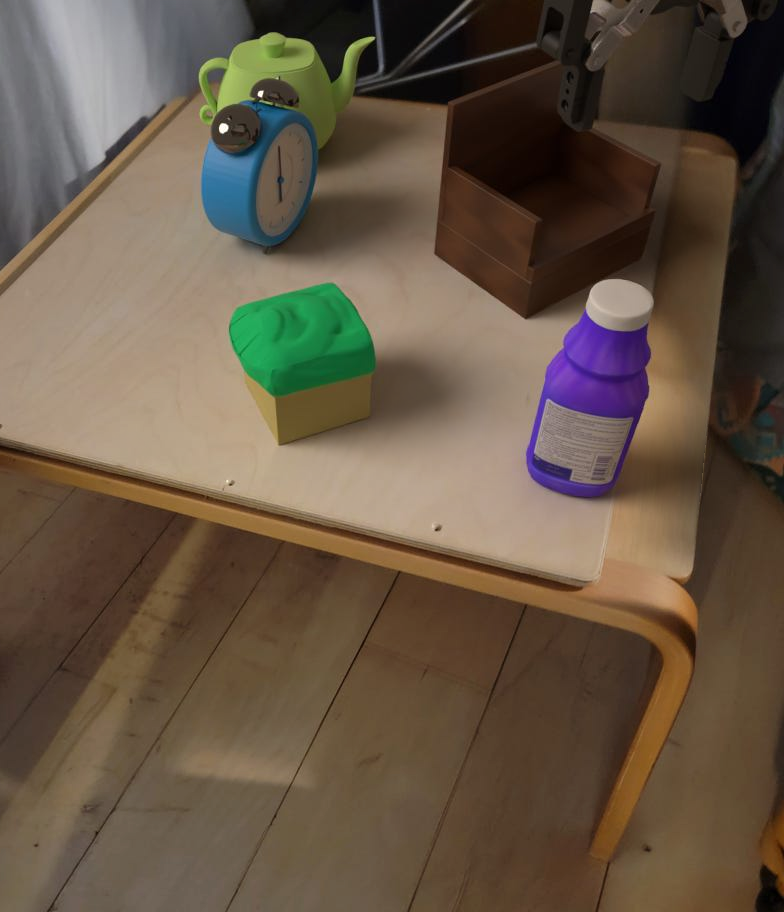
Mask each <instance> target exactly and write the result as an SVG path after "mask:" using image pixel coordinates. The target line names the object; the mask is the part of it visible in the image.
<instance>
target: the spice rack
mask: <svg viewBox="0 0 784 912" xmlns="http://www.w3.org/2000/svg"><path fill="white" fill-rule="evenodd" d="M563 70H564V65H563V64H561V63H560V62H559V61H557V60H556V59H555V60H553V61H551V62H549V63H546V64H543V65H541V66H537V67H536V68H533V69H530V70H528V71H525V72H522V73H520V74H517V75H515V76H512V77H510V78H508V79H504V80H501V81H499V82H496V83H494V84H492V85H489V86H487V87H484V88H481V89H479V90H476V91H473V92H470V93H468V94H465V95H462V96H460V97H457V98H455V99H453V100H450V101H448V102H447V111H446V120H445V121H446V122H445V132H444V141H443V155H442V164H441V165H442V166H441V175H440V184H439V185H440V186H439V197H438V206H437V207H438V208H437V220H436V230H435V241H434V251H433V255H435V256H436V257H438V258H439V259H440V260H442V261H444V262H445V263H446V264H447V265H449V266H450V267H451V268H453V269H454V270H456V271H457V272H459V273H460V274H462V275H463V276H464V277H465V278H467V279H469V280H470V281H471V282H473V283H474V284H475V285H477V286H478V287H479V288H481V289H482V290H484V291H485V292H487V293H488V294H490V295H491V296H492V297H494V298H495V299H496V300H498V301H499V302H501V303H502V304H503V305H505V306H506V307H508V308H509V309H511V311H513V312H514V313H516V314H517V315H519V316H520V317H521V318H523V319H525V320H526V319H528V318H529V317H531V316H534V315H535V314H538V313H539V312H541V311H543V310H545V309H547V308H548V307H549V308H550V307H551V306H553V305H554V304H557V303H558V302H560V301H563V300H564V299H566V298H568V297H570V296H572V295H574V294H575V293H577V292H579V291H581V290H583V289H585V288H587V287H589V286H591V285H593V284H594V283H595V284H596V282H597V283H598V282H599V281H601V280H602V279H604V278H606V277H608V276H610V275H612V274H613V273H615V272H618V271H620V270H621V269H623V268H625V267H627V266H629V265H631V264H633V263H635V262H636V261H638V260H640V259H642V258H643V255H644V252H645V248H646V245H647V241H648V238H649V235H650V231H651V229H652V225H653V221H654V218H655V215H656V212H657V209H655V208H653V207H652V206H650V205H651V202H652V200H653V199H652V198H653V195H654V191H655V189H656V186H657V185H656V184H657V180H658V178H659V174H660V171H661V167H662V164H663V163H662V162H660V161H658V160H656V159H654V158H653V157H651V156H649V155H647V154H644V153H643V152H641V151H639V150H637V149H635V148H633V147H631V146H629V145H627V144H625V143H623V142H621V141H620V140H618V139H615V138H614V137H612V136H610V135H608V134H606V133H604V132H602V131H600V130H599V129H596V128H594V127H592V128H591V129H590V130H587V131H583V132H576V131H575V130H574V129H572V128H571V127H570V126H569V125H567V124H566V123H565V122H564V121H563V120H562V117H561V116H560V115H559V114H558V110H557V102H558V97H559V91H560V86H561V80H562V75H563Z"/></svg>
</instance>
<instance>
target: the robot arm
mask: <svg viewBox="0 0 784 912" xmlns="http://www.w3.org/2000/svg"><path fill="white" fill-rule="evenodd" d="M624 1H625V2H626V3H628V4H627V5H625V6H623V7H618V6H615V5H614V4H612V2H613V0H544V1H543V6H542V9H541V13H540V14H541V15H540V19H539V24H538V30H537V35H536V39H535V45H536V46H537V48H538V49H540V50H542V51H543V52H544V53H546V54H547V55H549V56H550V57H552V58H553V59H555V61H556V60H557V61H559V62H560V63H561V64H563V65H564V70H563V75H562V80H561V86H560V91H559V97H558V102H557V110H558V114H559V115H560V116H561V117H562V120H563V121H564V122H565V123H566V124H567V125H569V126H570V127H571V128H572V129H574V130H575V131H576V132H583V131H587V130H590V129H591V128H594V123H595V119H596V114H597V109H598V105H599V100H600V96H601V91H602V86H603V83H604V78H605V73H606V68H604V67H603V66H604V64H605V63H606V62H607V60H608V59H609V58H610V56H611V55H612V54H613V52H614V51H615V50H616V49H617V47H618V46H619V44H620V43H621V42H622V41H623V39H624V38H626V37H630V36H633V35H634V34H636V33H637V31H639V29H640V27H641V26H642V25H643V24H644V22H645V21H646V19H647V18H648V17H649V15H650V16H654V15H659V14H663V13H665V12H668V11H669V10H671V9H674V8H675V7H682V8H690V7H694V6H695V8H696V10H697V13H698V15H699V18H700V20H701V22H703V25H701V26H697V27H694V31H693V34H692V38H691V41H690V45H689V48H688V51H687V56H686V60H685V62H684V65H683V66H684V67H683V70H682V74H681V77H680V80H679V89H680V91H681V93H683V94H684V95H686V96H687V97H689V98H690V99H692V100H693V101H695V102H697V103H700V102H704V101H708V100H711V99H712V98H713V96H714V95H715V91H716V89H717V88H718V86H719V85H720V83H721V81H722V79H723V77H724V73H725V69H726V65H727V62H728V61H729V58H730V54H731V50H732V47H733V44H734V42H735V39H736V38H738V37H739V36H740V35H742V34H743V32H744V30H746V28H747V25H748V24H749V23H751V22H752V21H754V20H756V19H757V20H759V21H761V22H763V21H765V20H768V19H769V18H770V17H771V16H772V15H773V13H774V12H775V10H776V7H777V4H778V1H779V0H624ZM603 24H605V25H604V27H603V28H602V29H601V30H600V32H599V33H598V34H597V36H596V37H595V38H594V40H593V41H592V38H593V37H594V36H595V34H596V33H597V31H598V30H599V29H600V27H601V26H602V25H603Z"/></svg>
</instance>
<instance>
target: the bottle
mask: <svg viewBox="0 0 784 912" xmlns="http://www.w3.org/2000/svg"><path fill="white" fill-rule="evenodd" d="M654 305H655V301H654V297H653V295H652V293H651V292H650V291H649V290H648V289H647V288H645V287H644V286H643V285H641V284H639V283H637V282H634V281H631V280H627V279H621V278H610V279H609V278H608V279H604V280H600V281H598V282H597V283H595V284H594V285H593V287H591V289H590V292H589V295H588V298H587V300H586V303H585V308H584V311H583V313H582V315H581V317H580V319H579V320H578V322H577V323H576V324H574V325H573V326H572V327H571V328H570V329H569V330H568V331H567V332H566V333H565V336H564V337H563V341H562V342H563V343H562V345H563V347H562V349H560V350H559V351H558V352H557V353H556V354H555V356H554V357H553V358H552V359H551V360H550V362H549V364H548V365H547V366H546V369H545V374H544V381H543V385H542V389H541V392H540V397H539V401H538V405H537V409H536V414H535V418H534V422H533V426H532V429H531V435H530V438H529V442H528V444H527V447H526V452H525V456H526V457H525V463H526V467H527V471H528V473H529V476H530V478H531V479H532V480H533V481H534V482H536V483H537V484H538V485H540V486H542V487H544V488H546V489H548V490H551V491H554V492H557V493H560V494H565V495H569V496H574V497H582V498H594V497H601V496H602V495H604V494H605V493H606V492H608V491H609V490H610V489H611V488H612V487H613V486H614V484H616V482H617V481H618V479H619V476H620V474H621V471H622V469H623V466H624V463H625V461H626V458H627V454H628V452H629V449H630V447H631V444H632V441H633V438H634V436H635V433H636V431H637V427H638V426H639V422H640V420H641V417H642V414H643V412H644V409H645V405H646V402H647V400H648V399H649V395H650V385H649V376H648V372H647V370H646V369H647V368H646V367H647V366H648V365H649V362H650V360H651V358H652V350H651V347H650V344H649V342H648V329H649V323H650V320H651V318H652V312H653V309H654Z"/></svg>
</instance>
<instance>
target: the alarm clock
mask: <svg viewBox="0 0 784 912" xmlns="http://www.w3.org/2000/svg"><path fill="white" fill-rule="evenodd" d="M280 77H281V76H278V75H277V78H276V79H275V78H265V79H262V80H259V81H258V82H256V83H255V84H254V85H253V87H252V88H251V91H250V95H249V97H252V98H255V99H254V100H245V101H241V102H239V103H237V104H231V105H228V106H226V107H224V108H222V109H221V110H220V111H219V112H218V113H217V114H216V115H215V117H214V119H213V121H212V124H211V126H210V139H209V141H208V144H207V147H206V151H205V154H204V158H203V163H202V168H201V177H200V178H201V179H200V195H201V202H202V207H203V211H204V213H205V216H206V218H207V220H208V222H209V223H210V224H211V226H212V227H213V228H214V229H216V230H217V231H219V232H221V233H223V234H226V235H229V236H233V237H236V238H239V239H242V240H245V241H248V242H250V243H251V242H252V243H254V244H258V245H261V246H262V254H263V255H267V253H268V250H269V247H272V246H276V245H279V244H281V243H283V242H284V241H285V240H286V239H288V238H289V237H290V236H291V235H292V234H293V232H294V231H295V230H296V229H297V227H298V225H299V224H300V222H301V221H302V219H303V218H304V215H305V213H306V211H307V209H308V206H309V205H310V201H311V198H312V196H313V191H314V188H315V185H316V179H317V174H318V165H319V150H318V145H317V138H316V134H315V130H314V127H313V125H312V123H311V122H310V120H309V119H308V118H307V117H306V116H305V115H304V114H302V113H300V112H298V111H294V110H290V109H286V108H282V107H278V106H275V103H276V104H280V105H285V106H290V107H295V108H299V95H298V93H297V91H296V89H295V88H294V87H293V86H292V85H291V84H289V83H288V82H286V81H283V80H280ZM260 100H263V101H267V102H271V103H272V105H270V104H266V103H262V102H258V101H260Z"/></svg>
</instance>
